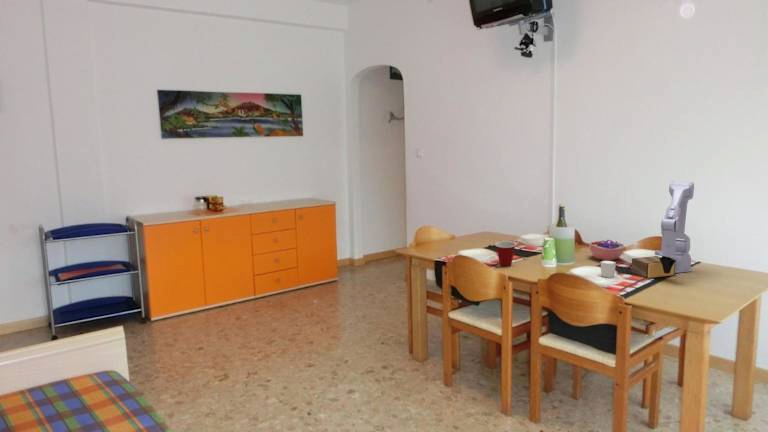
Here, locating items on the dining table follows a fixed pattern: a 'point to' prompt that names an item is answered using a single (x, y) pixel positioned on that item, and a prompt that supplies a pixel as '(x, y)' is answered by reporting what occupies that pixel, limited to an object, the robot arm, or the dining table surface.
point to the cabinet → (643, 265)
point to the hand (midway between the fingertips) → (666, 273)
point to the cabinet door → (659, 270)
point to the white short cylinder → (608, 268)
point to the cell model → (606, 250)
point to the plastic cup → (505, 252)
